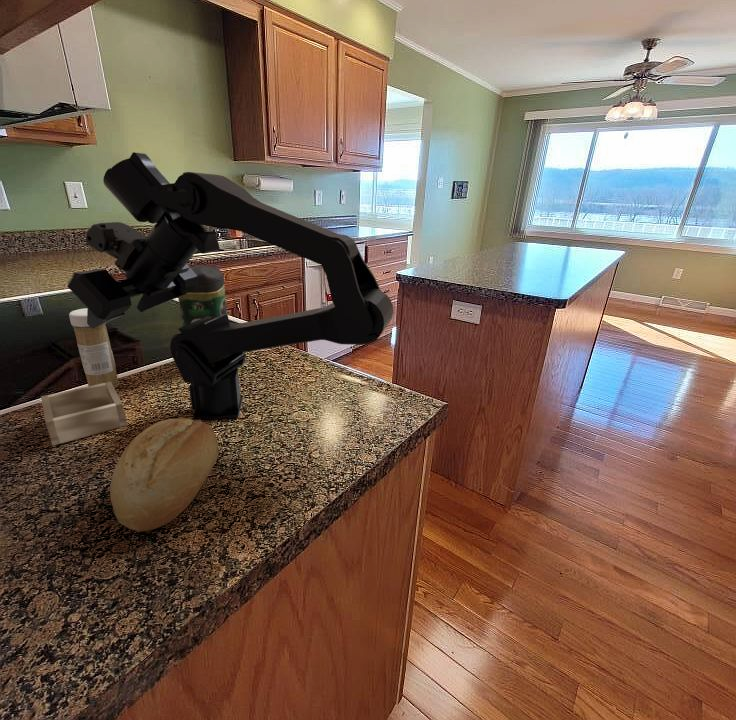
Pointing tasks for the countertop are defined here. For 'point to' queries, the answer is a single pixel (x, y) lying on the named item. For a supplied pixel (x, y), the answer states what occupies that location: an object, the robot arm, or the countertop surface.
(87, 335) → the sprinkles bottle
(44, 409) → the guard collar
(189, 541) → the countertop surface
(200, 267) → the coffee jar
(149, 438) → the bread roll
